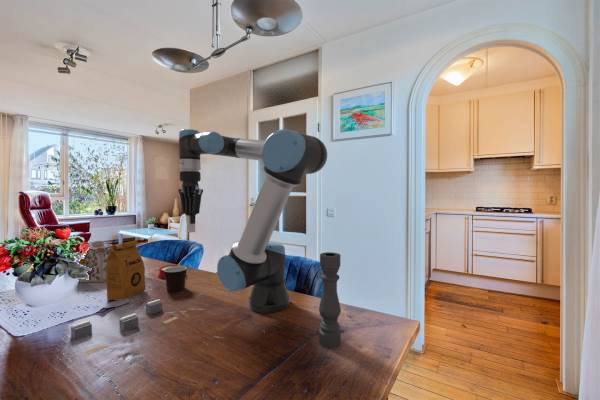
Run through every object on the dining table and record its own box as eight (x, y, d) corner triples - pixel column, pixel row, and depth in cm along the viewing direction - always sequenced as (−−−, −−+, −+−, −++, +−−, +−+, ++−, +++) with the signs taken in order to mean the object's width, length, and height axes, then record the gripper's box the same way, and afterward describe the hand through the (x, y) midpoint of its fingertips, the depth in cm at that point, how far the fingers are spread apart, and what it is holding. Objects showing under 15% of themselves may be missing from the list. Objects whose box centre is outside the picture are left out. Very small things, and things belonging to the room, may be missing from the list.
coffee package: (149, 292, 116) (148, 240, 115) (122, 304, 105) (120, 246, 104) (131, 289, 120) (130, 238, 119) (102, 301, 108) (101, 244, 107)
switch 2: (138, 326, 85) (138, 314, 85) (124, 331, 82) (123, 319, 82) (133, 323, 87) (133, 312, 87) (119, 328, 84) (119, 317, 84)
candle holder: (335, 350, 75) (335, 258, 74) (314, 344, 78) (315, 255, 77) (344, 340, 80) (344, 253, 79) (324, 334, 84) (325, 251, 83)
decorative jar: (102, 282, 128) (100, 243, 127) (76, 282, 128) (75, 243, 128) (119, 274, 140) (118, 239, 139) (96, 274, 140) (95, 239, 140)
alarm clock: (169, 264, 147) (190, 261, 140) (171, 276, 146) (192, 273, 140) (151, 269, 137) (172, 266, 131) (153, 282, 137) (174, 279, 131)
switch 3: (162, 310, 96) (162, 300, 96) (150, 314, 93) (150, 304, 93) (157, 308, 98) (157, 298, 98) (146, 312, 95) (145, 302, 95)
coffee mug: (181, 296, 112) (181, 272, 112) (160, 296, 112) (159, 272, 112) (193, 286, 124) (193, 264, 123) (173, 286, 124) (173, 264, 123)
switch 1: (92, 334, 81) (91, 322, 81) (74, 340, 77) (74, 327, 77) (88, 331, 82) (87, 319, 82) (71, 336, 79) (70, 324, 79)
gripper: (171, 171, 109) (172, 231, 110) (191, 169, 101) (192, 235, 102) (189, 172, 115) (190, 229, 116) (208, 170, 107) (209, 232, 108)
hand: (191, 232), depth 109 cm, fingers closed
